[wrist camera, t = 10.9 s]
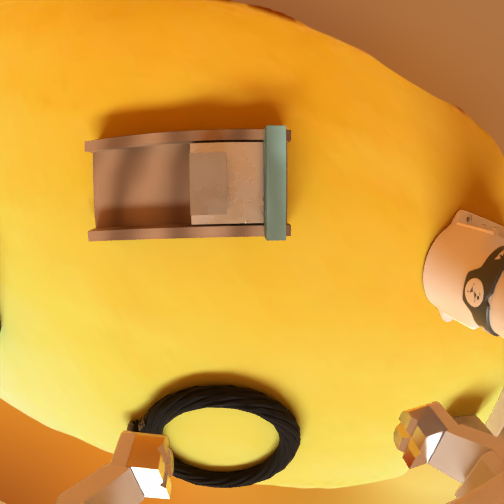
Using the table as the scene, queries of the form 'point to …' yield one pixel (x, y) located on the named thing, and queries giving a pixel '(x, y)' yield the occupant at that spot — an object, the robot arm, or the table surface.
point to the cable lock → (234, 400)
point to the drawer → (177, 185)
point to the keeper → (226, 182)
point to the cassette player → (472, 423)
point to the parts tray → (497, 418)
